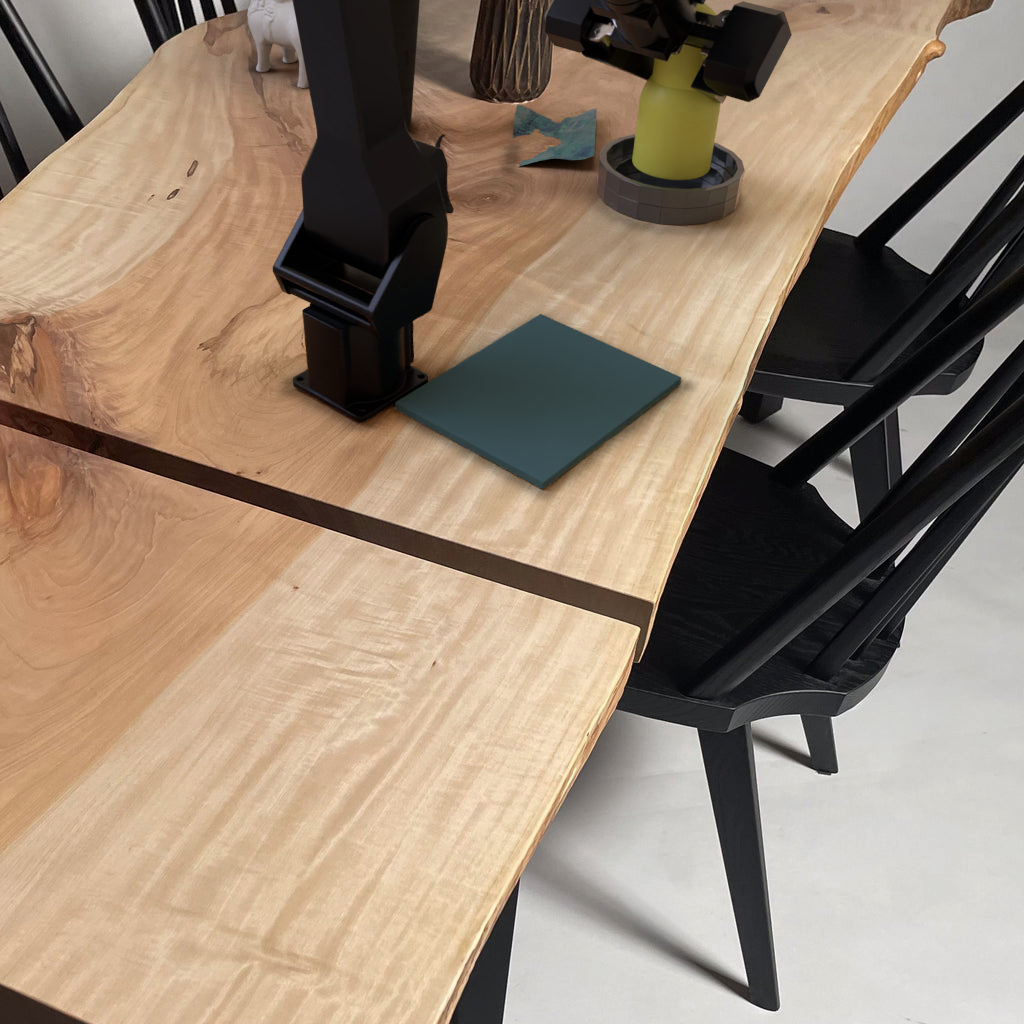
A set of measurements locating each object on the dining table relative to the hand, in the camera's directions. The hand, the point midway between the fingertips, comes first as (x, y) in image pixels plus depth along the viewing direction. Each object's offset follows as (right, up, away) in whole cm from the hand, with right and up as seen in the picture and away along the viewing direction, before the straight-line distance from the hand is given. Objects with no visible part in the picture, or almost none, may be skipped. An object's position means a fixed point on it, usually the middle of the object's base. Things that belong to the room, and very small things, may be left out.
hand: (690, 87), depth 90 cm
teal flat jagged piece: (-11, -1, +13) cm, 17 cm away
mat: (-13, -27, -18) cm, 35 cm away
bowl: (-1, -8, +5) cm, 9 cm away
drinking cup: (-27, +1, +15) cm, 30 cm away
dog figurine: (-38, +11, +25) cm, 47 cm away
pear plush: (-1, -5, +3) cm, 6 cm away
